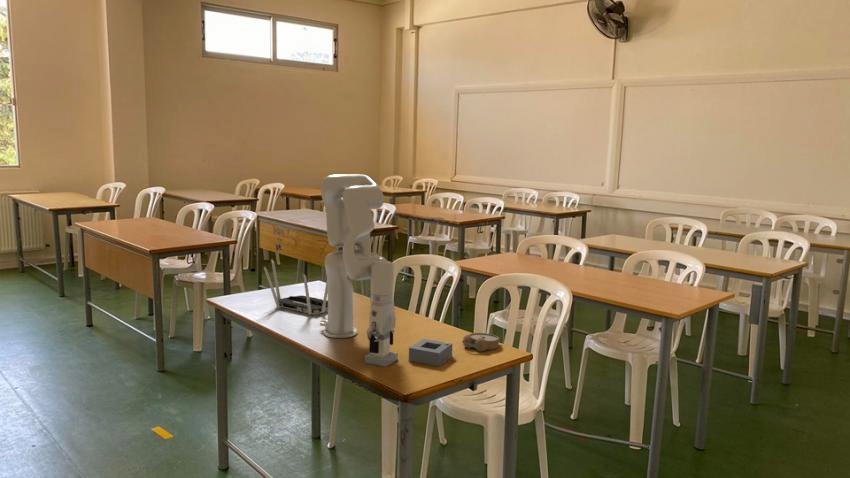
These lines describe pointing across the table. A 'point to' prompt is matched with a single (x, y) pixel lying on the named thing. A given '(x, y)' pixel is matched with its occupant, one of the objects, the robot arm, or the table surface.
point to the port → (430, 352)
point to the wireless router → (298, 298)
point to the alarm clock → (481, 341)
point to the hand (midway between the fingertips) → (381, 348)
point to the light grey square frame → (381, 359)
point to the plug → (383, 345)
